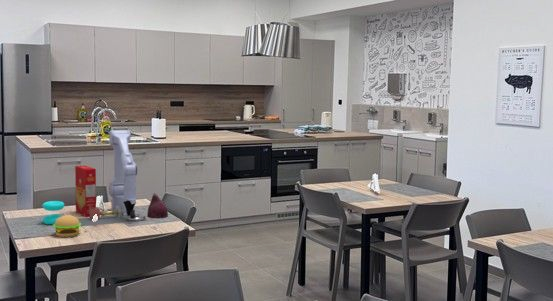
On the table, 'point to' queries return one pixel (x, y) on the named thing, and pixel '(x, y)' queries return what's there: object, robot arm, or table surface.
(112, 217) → the board
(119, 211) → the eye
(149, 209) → the vegetable
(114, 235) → the table surface
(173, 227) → the table surface
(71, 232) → the hamburger
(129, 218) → the handwheel
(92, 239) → the table surface
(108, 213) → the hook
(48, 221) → the cyan stacked discs
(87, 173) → the food packaging
